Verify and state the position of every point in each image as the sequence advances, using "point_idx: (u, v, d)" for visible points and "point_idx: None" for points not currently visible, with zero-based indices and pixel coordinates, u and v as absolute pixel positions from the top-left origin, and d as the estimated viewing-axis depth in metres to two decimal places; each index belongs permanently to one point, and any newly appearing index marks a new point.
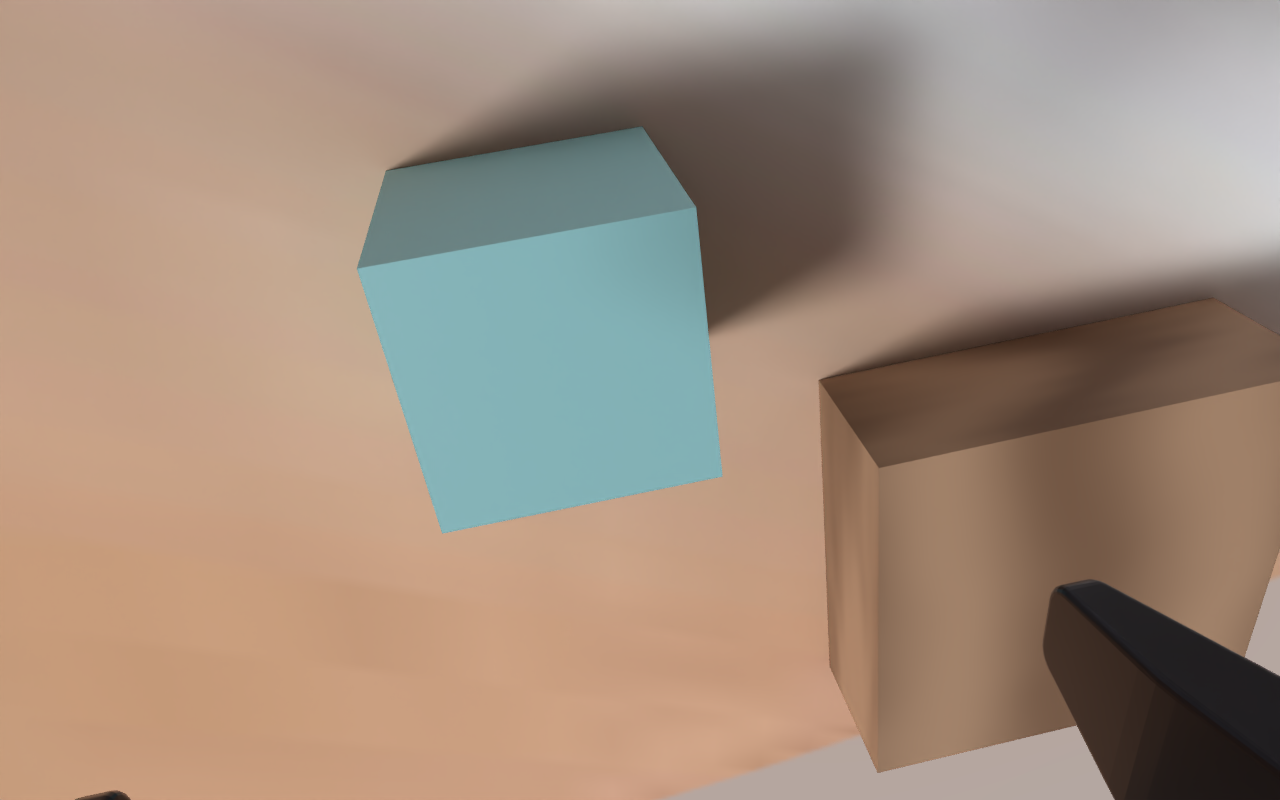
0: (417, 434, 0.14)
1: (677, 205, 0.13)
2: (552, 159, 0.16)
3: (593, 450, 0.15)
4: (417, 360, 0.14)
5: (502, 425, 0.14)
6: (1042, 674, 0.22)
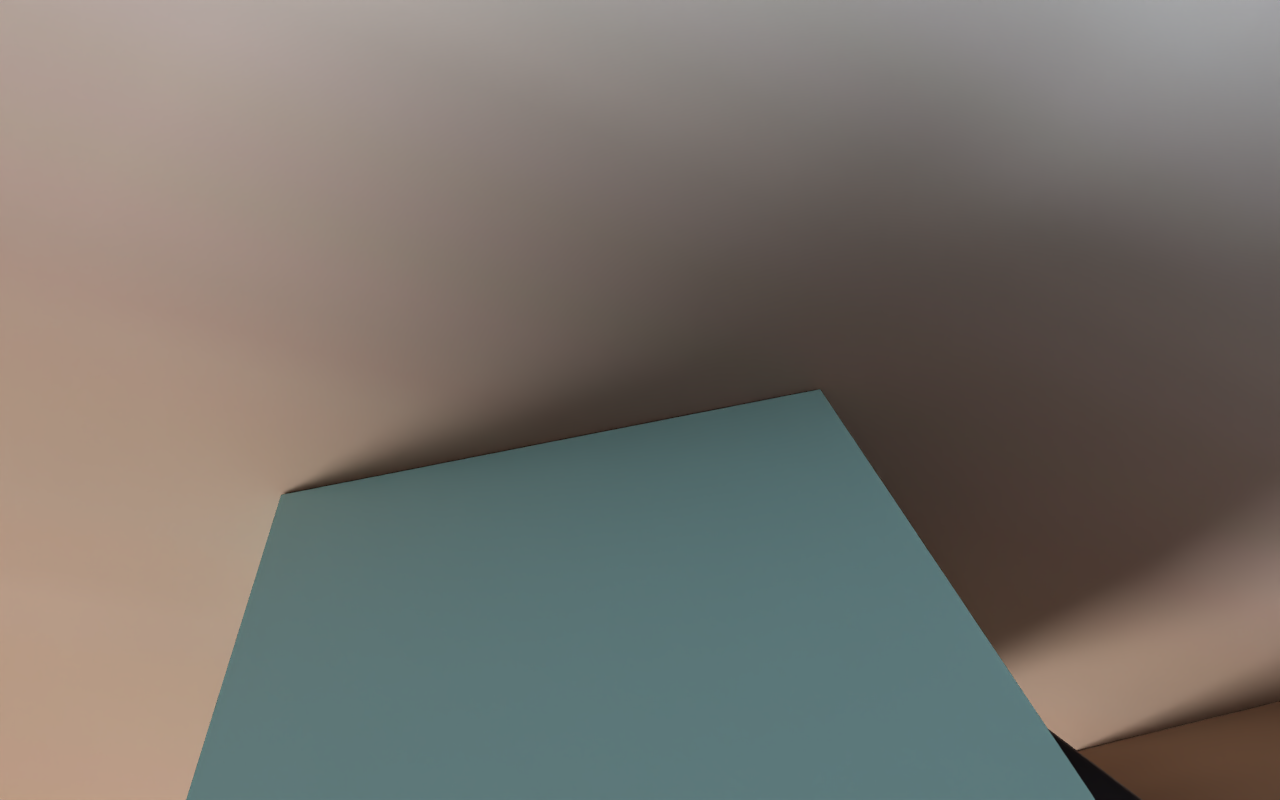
0: None
1: None
2: (647, 511, 0.07)
3: None
4: None
5: None
6: None
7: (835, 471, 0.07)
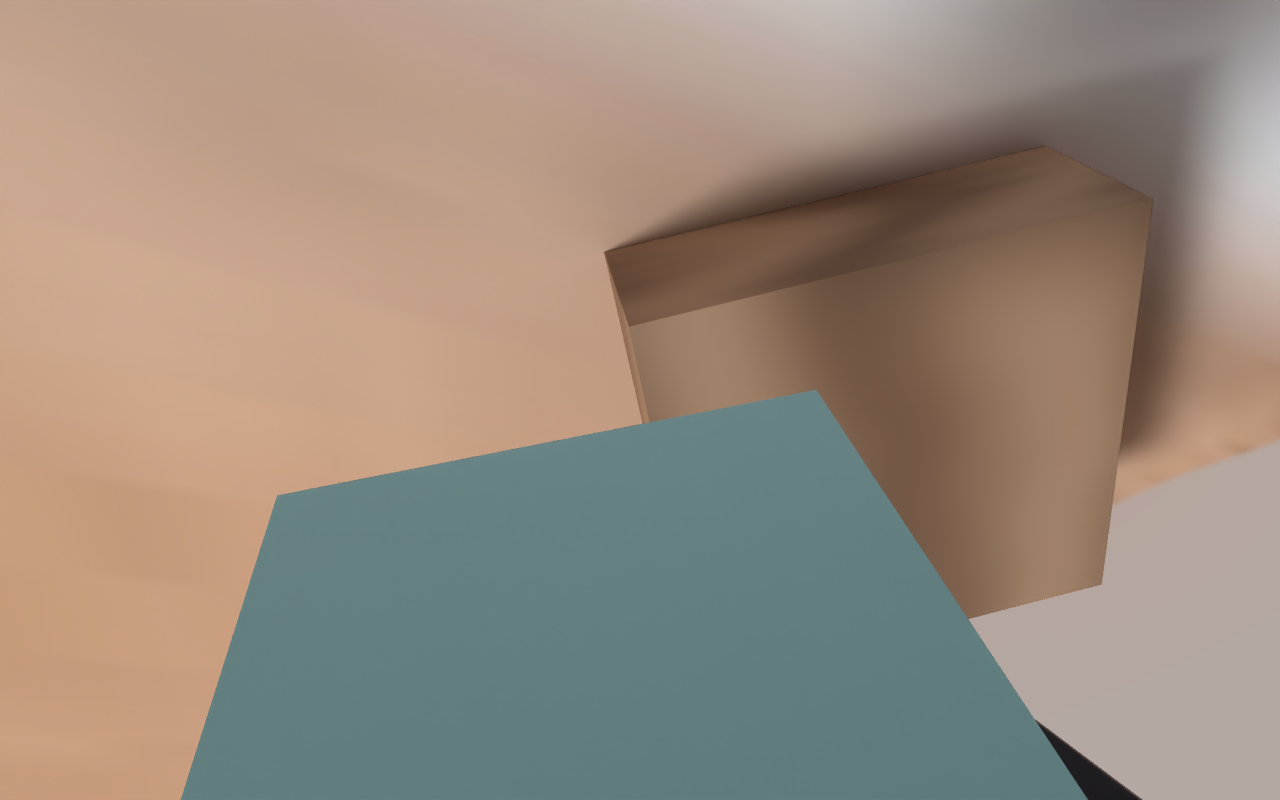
0: None
1: None
2: (643, 512, 0.07)
3: None
4: None
5: None
6: None
7: (831, 471, 0.07)
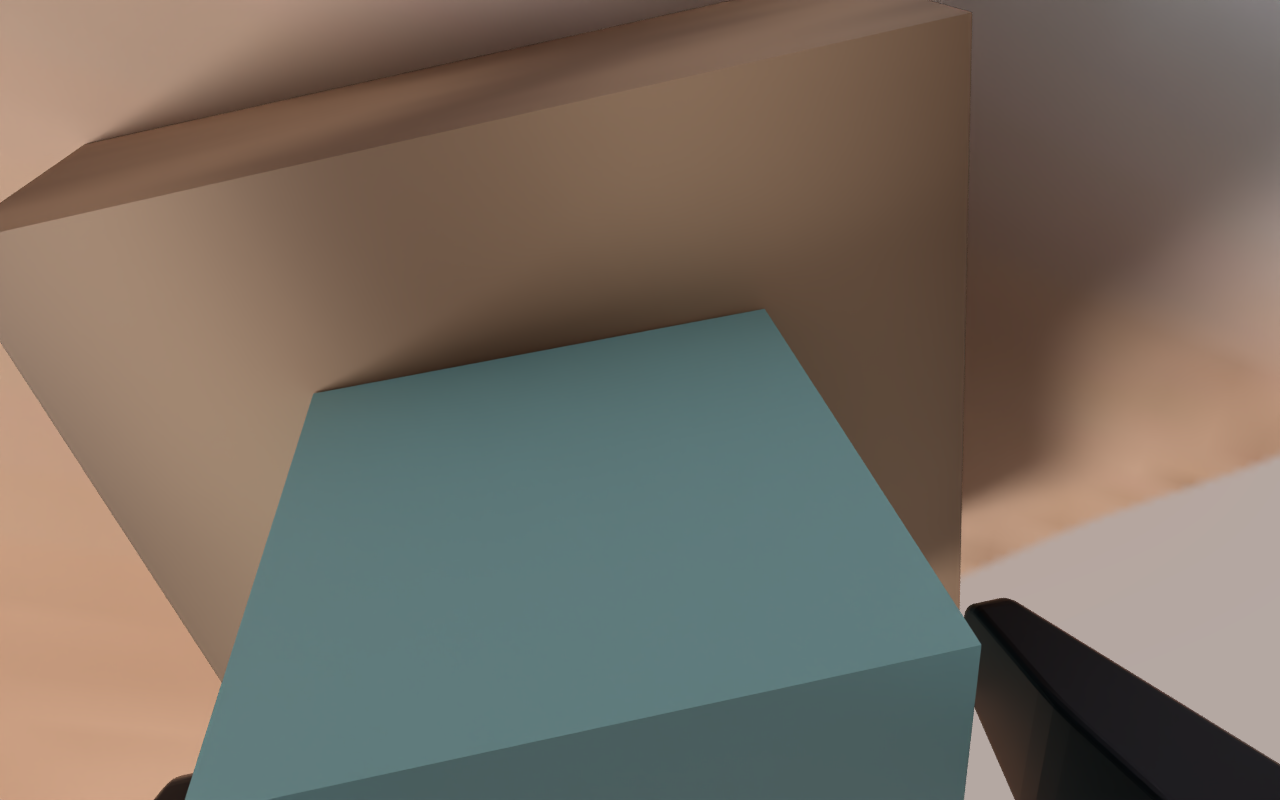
0: None
1: (928, 624, 0.06)
2: (614, 398, 0.09)
3: None
4: None
5: None
6: None
7: (769, 367, 0.09)
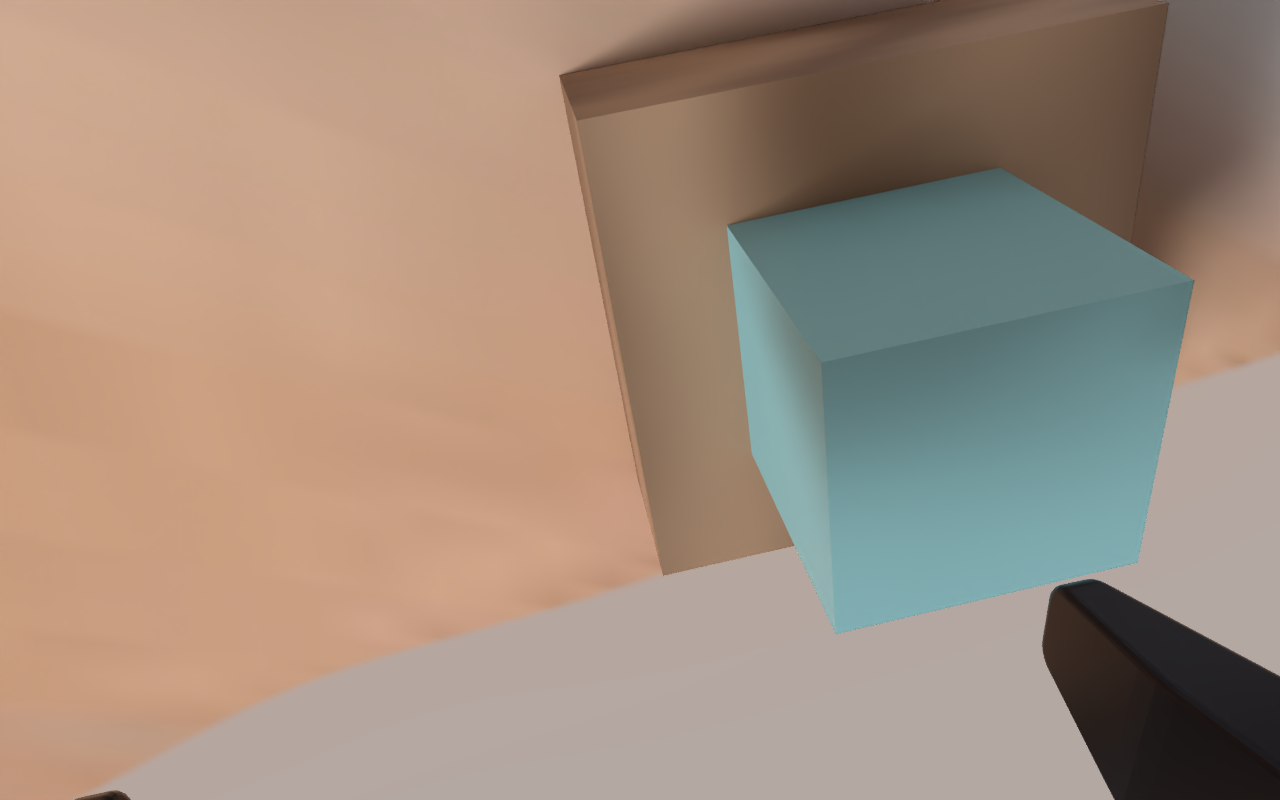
0: (837, 533, 0.13)
1: (1163, 277, 0.12)
2: (930, 212, 0.14)
3: (1013, 541, 0.13)
4: (858, 457, 0.12)
5: (927, 521, 0.13)
6: None
7: (1020, 192, 0.15)
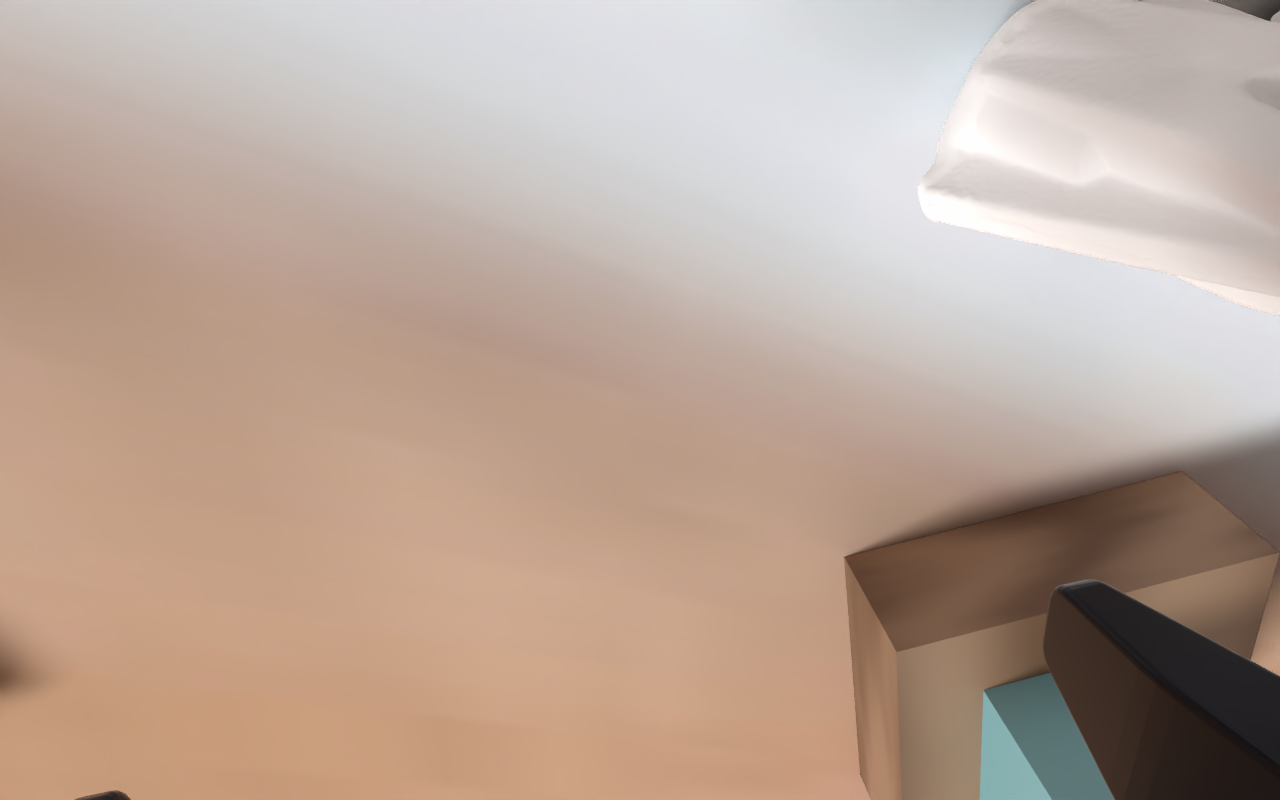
0: None
1: None
2: None
3: None
4: None
5: None
6: None
7: None
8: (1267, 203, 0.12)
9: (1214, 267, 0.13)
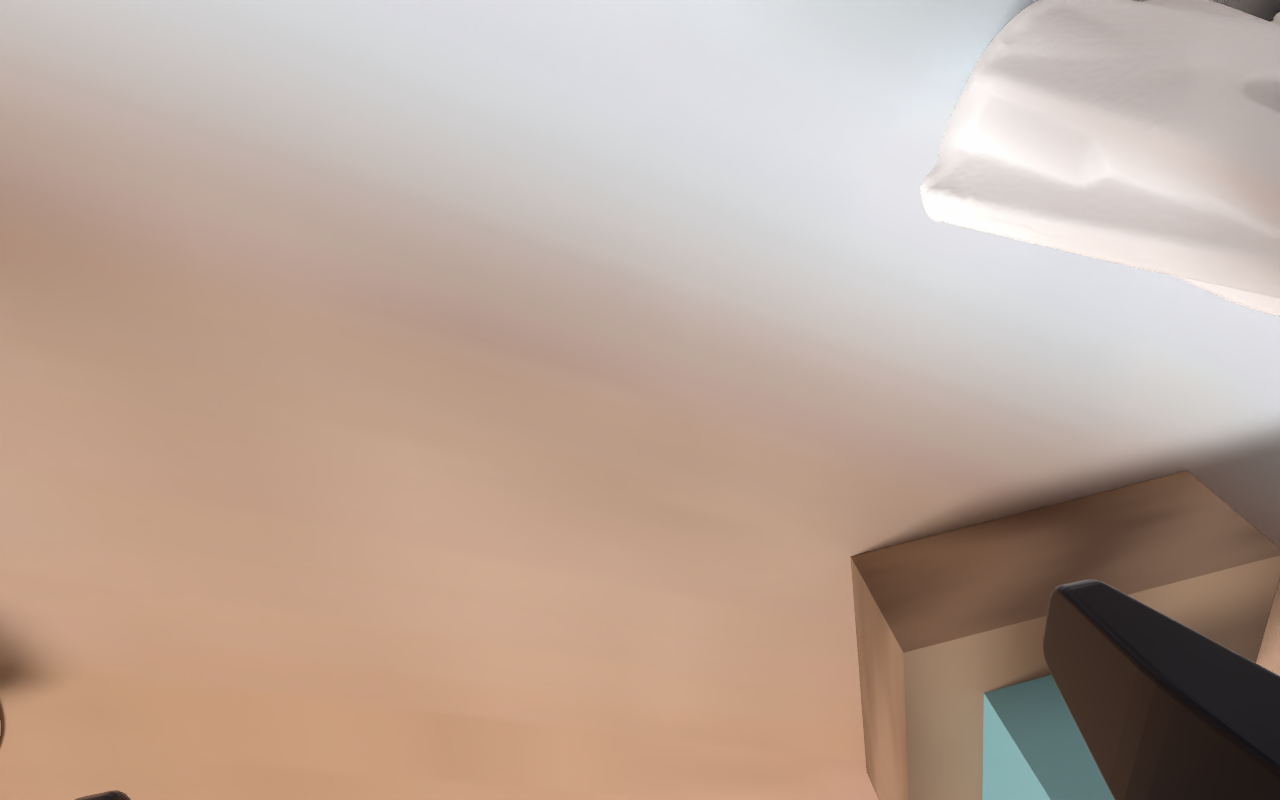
0: None
1: None
2: None
3: None
4: None
5: None
6: None
7: None
8: (1266, 205, 0.12)
9: (1213, 269, 0.13)
